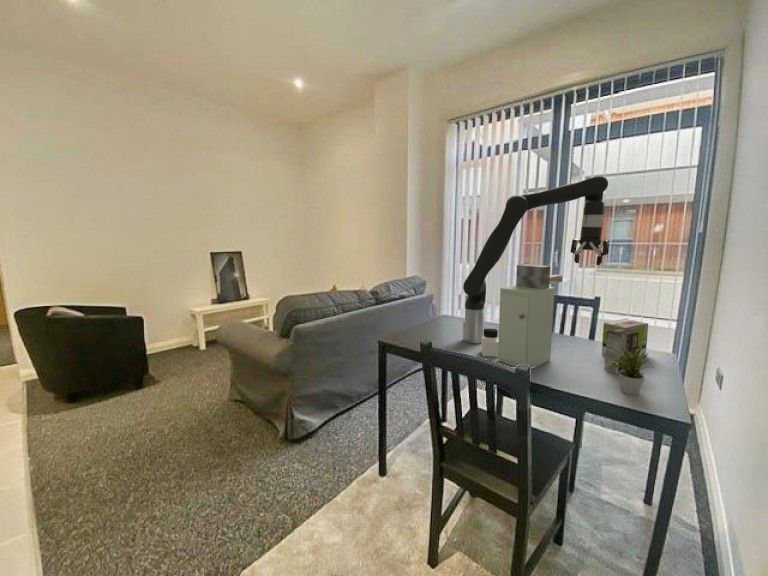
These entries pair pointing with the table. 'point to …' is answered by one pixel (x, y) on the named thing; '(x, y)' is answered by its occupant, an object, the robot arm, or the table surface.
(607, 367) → the coffee box
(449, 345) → the table surface
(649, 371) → the table surface
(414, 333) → the table surface
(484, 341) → the medicine bottle
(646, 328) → the tea box
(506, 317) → the cabinet
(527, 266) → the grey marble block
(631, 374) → the house plant
